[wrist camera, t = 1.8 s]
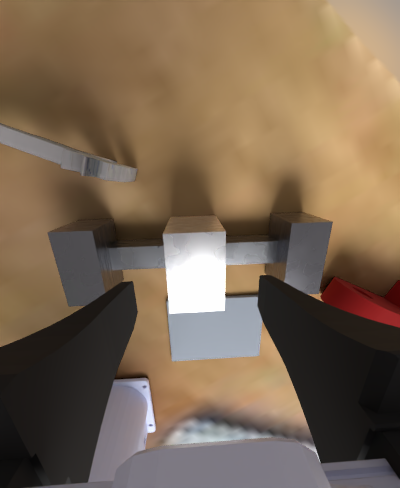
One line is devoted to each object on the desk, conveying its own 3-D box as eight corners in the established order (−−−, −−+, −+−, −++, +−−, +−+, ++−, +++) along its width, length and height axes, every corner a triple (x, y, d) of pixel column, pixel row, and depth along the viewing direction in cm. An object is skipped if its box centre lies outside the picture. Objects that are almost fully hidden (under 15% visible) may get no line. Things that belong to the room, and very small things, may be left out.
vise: (294, 271, 20) (318, 293, 16) (92, 280, 19) (68, 306, 16) (302, 212, 18) (332, 221, 14) (78, 220, 17) (47, 232, 14)
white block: (215, 275, 20) (224, 310, 15) (175, 276, 20) (169, 313, 14) (215, 215, 18) (225, 231, 13) (170, 216, 18) (162, 233, 12)
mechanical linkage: (447, 302, 23) (515, 336, 18) (404, 347, 25) (455, 388, 20) (337, 251, 20) (383, 275, 15) (298, 307, 22) (328, 343, 17)
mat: (257, 352, 23) (258, 355, 23) (172, 358, 23) (172, 361, 23) (263, 294, 21) (264, 296, 20) (166, 299, 20) (166, 301, 20)
